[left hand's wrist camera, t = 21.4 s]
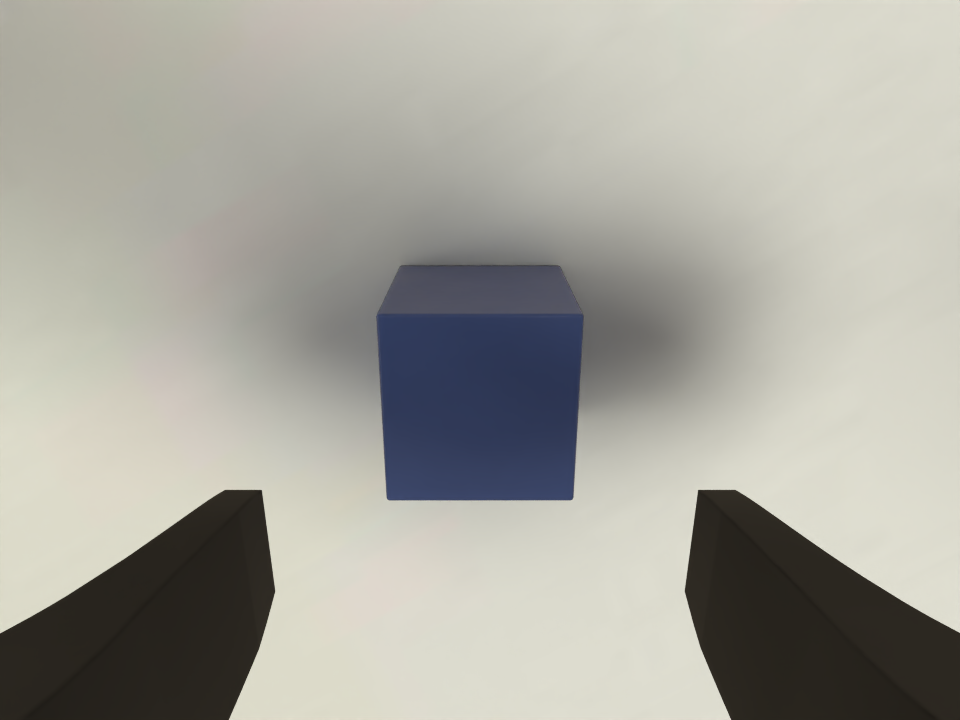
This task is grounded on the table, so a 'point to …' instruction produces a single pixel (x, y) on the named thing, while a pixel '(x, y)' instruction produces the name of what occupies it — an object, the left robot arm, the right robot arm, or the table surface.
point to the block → (480, 383)
